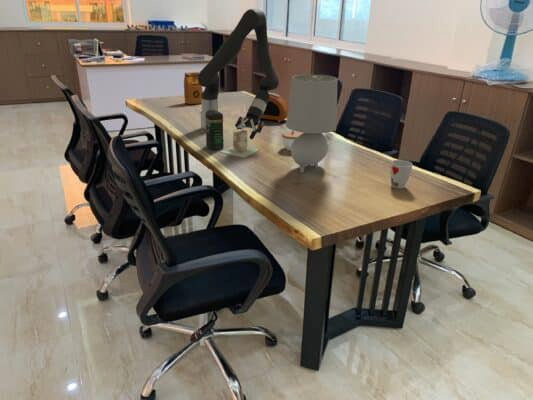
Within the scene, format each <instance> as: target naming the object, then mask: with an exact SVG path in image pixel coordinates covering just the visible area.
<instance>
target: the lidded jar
mask: <svg viewBox="0 0 533 400" xmlns="http://www.w3.org/2000/svg"><path fill="white" fill-rule="evenodd" d="M301 134H303V132H297V131H293V130H291V131H284V132H282V134H281V136H282V137H281V141H282V145H283V146H284V148H285V150H286V151H290V152H291V147H292V144H293V142H294V140H295V139H296V138H297V137H298V136H300V135H301Z"/></svg>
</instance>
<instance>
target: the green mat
mask: <svg viewBox="0 0 533 400" xmlns="http://www.w3.org/2000/svg"><path fill="white" fill-rule="evenodd" d="M259 151H260V149H257V148H253V147H248V146H247V151H245V152H243V153H239V152H235V151H233V146H231V147H228V148H225V149H224V150H221V151H220V153H222V154H225V155H229V156H234V157H238V158H247V157H249V156H250V155H253V154H255V153H257V152H259Z"/></svg>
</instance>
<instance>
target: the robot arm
mask: <svg viewBox="0 0 533 400" xmlns="http://www.w3.org/2000/svg"><path fill="white" fill-rule="evenodd" d="M252 31H254V33H255V39H256V51H255V56H256V63H257V66H258V70H259V72H260V73H264V75H265V77H263V78H261V79H260V80H259V83H258V86H257V91H256V94H255V97H254V99H253V100H252V101H251V104H250V106H249V108H248V109H247V112H246V114H245V116H244V117H242V116H239V117H238V119H237V121H236V123H235V124H234V126H235V128H236V130H238V129H241V130H244V129H246V128H250V129H252V131H251V133H250V135H249V139H250V140H252V141H253V140H254V138H255V136H256V134H261V132H262V131H263V127H264V125H265V122H264V121H263V119H262V118H261V117H262V115H263V113H264V111H265V108H266V105H267V103H268V101H269V98H270V95H269V93H270V92H269V91H274V90H276V89H278V87H279V83H280V80H279V77H278V74H277V72H276V71H275V69H274V67H273V63H272V58H271V53H270V48H269V41H268V29H267V17H266V14H265V12H264V11H263V10H261V9H258V8H250V9H247V10H246V11H244V12H243V14H242V16H241V18H240V19H239V21H238V23H237V24H236V26H235V27H234V29H233V30H232V31H231V32H230V34H228V35H229V36H228V37H227V38H226V39H225V40H224V42H223V43H222V44H221V45H220V47H219V49H218V50H217V51H216V53H215V54H214V55H213V56H212V57H211V60H210V61H209V62H208V63H207V64H206V65H205V66H204V67H203V68H202V69H201V70H200V71H199V75H198V83H199V84H200V85H201V86H202V88H203V87H204V90H202V91H203V93H202V94H201V100H202V103H201V111H200V127H201V129H203V130H205V131H206V119H205V115H206V112H207V111H208V110H216V111H218V112H219V93H220V74H219V73H220V71H221V70H223V69H224V68H226V67H227V66H228V65H229V64H231V63H232V62H233V61H234V60H235V59H236V57H237V56H238V55H239V54H240V52H241V49H242V47H243V43H244V41H245V39H246V37H247V36H248V35H249V34H251V32H252ZM261 119H262V120H261Z"/></svg>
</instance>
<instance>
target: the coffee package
mask: <svg viewBox="0 0 533 400" xmlns="http://www.w3.org/2000/svg"><path fill="white" fill-rule="evenodd" d="M199 73H200V71H195V72H194V71H193V72H185V73H184V77H183V91H184V92H183V94H184V103H185V104H187V105H198V104H202V100H201V94H202V93H203V91H204V90H203V86H201V85H200V84H199V83H198V75H199Z"/></svg>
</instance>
